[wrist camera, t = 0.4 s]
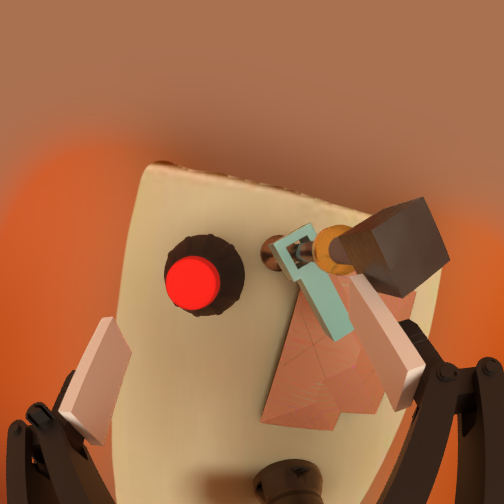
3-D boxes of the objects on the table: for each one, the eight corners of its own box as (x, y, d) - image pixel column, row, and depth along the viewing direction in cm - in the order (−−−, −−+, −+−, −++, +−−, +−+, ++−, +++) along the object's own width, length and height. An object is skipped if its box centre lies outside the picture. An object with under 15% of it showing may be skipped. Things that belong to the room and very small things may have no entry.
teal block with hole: (348, 317, 38) (363, 325, 33) (318, 336, 38) (329, 347, 33) (300, 226, 38) (310, 222, 33) (268, 245, 38) (273, 243, 33)
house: (410, 276, 53) (434, 279, 45) (361, 424, 52) (376, 443, 44) (306, 246, 52) (319, 245, 44) (258, 413, 51) (262, 436, 43)
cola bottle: (194, 294, 50) (142, 346, 20) (188, 245, 50) (127, 231, 20) (243, 289, 51) (256, 336, 21) (237, 240, 51) (243, 218, 21)
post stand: (301, 260, 51) (475, 270, 11) (271, 277, 51) (388, 343, 11) (284, 229, 51) (427, 157, 11) (254, 246, 51) (326, 215, 11)
